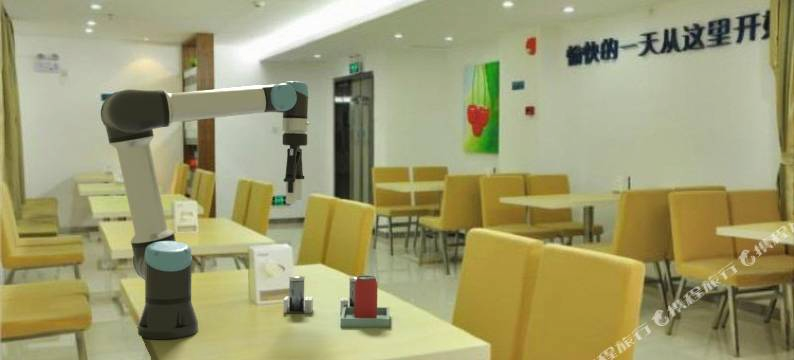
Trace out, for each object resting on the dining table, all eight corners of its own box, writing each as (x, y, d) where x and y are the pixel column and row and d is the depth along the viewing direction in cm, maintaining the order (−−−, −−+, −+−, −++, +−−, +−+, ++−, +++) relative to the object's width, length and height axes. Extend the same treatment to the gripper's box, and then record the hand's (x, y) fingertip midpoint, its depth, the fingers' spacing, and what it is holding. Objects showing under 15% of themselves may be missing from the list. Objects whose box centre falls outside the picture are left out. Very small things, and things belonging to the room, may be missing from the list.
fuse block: (368, 314, 209) (368, 279, 208) (283, 313, 209) (283, 278, 208) (368, 310, 214) (369, 276, 214) (285, 309, 214) (286, 275, 213)
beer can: (374, 322, 198) (374, 280, 197) (351, 320, 199) (352, 278, 199) (379, 316, 205) (379, 275, 204) (357, 314, 206) (357, 274, 205)
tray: (389, 327, 195) (389, 319, 195) (340, 326, 195) (340, 318, 195) (389, 315, 209) (389, 307, 208) (343, 314, 208) (343, 306, 208)
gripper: (301, 132, 203) (300, 205, 204) (312, 133, 228) (311, 198, 229) (275, 131, 203) (274, 205, 204) (289, 132, 228) (288, 198, 229)
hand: (294, 201), depth 216 cm, fingers open, 13 cm apart
